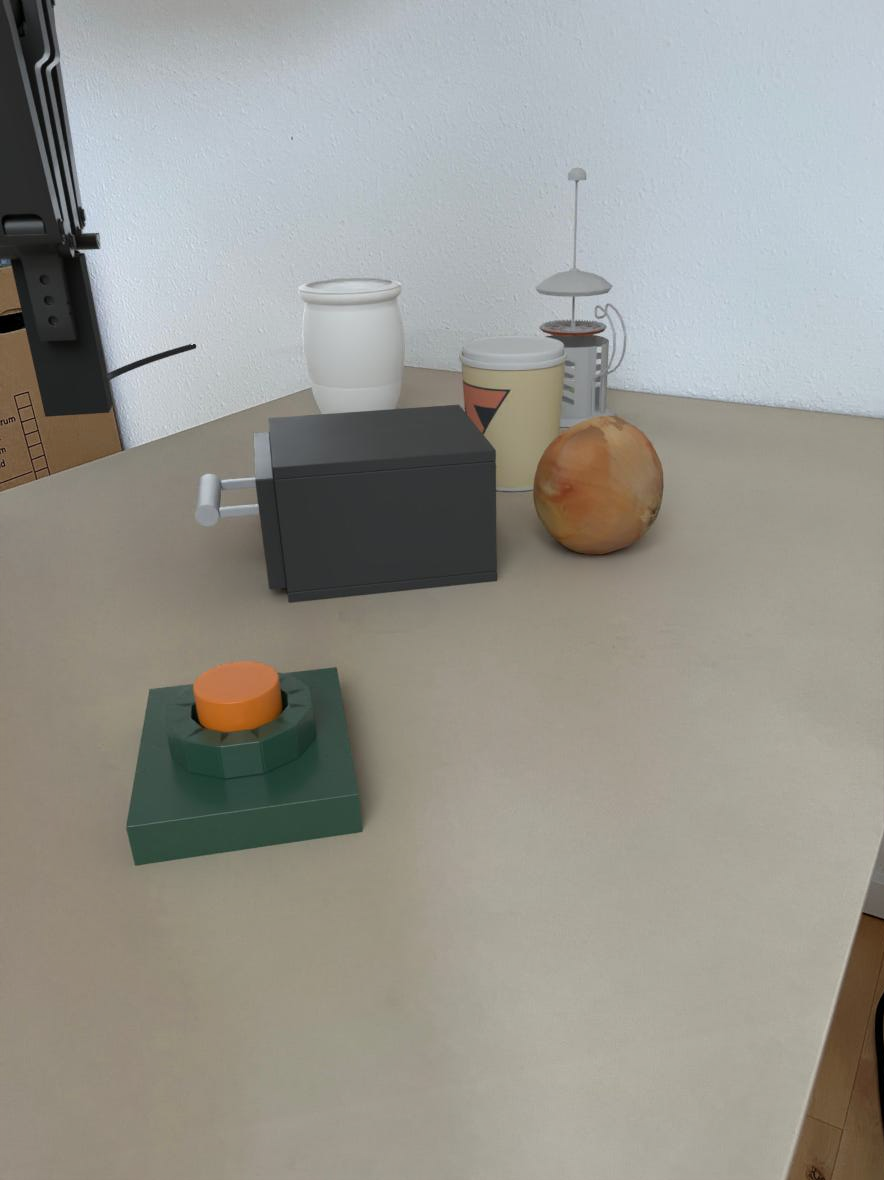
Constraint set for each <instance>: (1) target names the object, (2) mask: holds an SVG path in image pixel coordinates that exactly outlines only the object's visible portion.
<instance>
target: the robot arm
mask: <svg viewBox="0 0 884 1180" xmlns="http://www.w3.org/2000/svg"><path fill="white" fill-rule="evenodd" d="M55 6H56V0H0V261H2V260H3V261H4V260H10V265H11V269H12V274H13V278H14V284H15V288H16V292H17V297H18V302H19V306H20V311H21V315H22V319H23V324H24V328H25V332H26V337H27V342H28V345H29V350H30V354H31V359H32V364H33V369H34V372H35V377H36V382H37V387H38V391H39V396H40V399H41V404H42V409H43V414H44V417H45V418H47V417H63V416H77V415H78V416H79V415H93V414H94V415H97V414H107V413H108V414H109V413H110V412H111V410H112V408H113V405H114V402H113V398H112V393H111V388H110V387H111V386H110V382H109V381H111V380H113V379H115V378H117V377H119V376H122V375H123V374H126V373H128V372H130V371H134V370H136V369H138V368H140V367H142V366H145V365H148V364H151V363H155V362H157V361H160V360H163V359H166V358H170V357H172V356H176V355H178V354H181V353H186V352H189V351H192V350H195V349H197V344H196V343H195V344H193V345H191V344H192V343H189V344H186V345H182V346H179V347H175V348H172V349H169V350H166V351H162V352H159V353H156V354H153V355H149V356H147V357H145V358H141V359H139V360H136V361H133V362H130V363H128V364H125V365H123V366H121V367H119V368H117V369H114V370H112V371H109V372H108V371H107V366H106V359H105V355H104V350H103V344H102V339H101V335H100V333H101V332H100V328H99V324H98V323H99V322H98V317H97V312H96V307H95V301H94V297H93V292H92V287H91V286H92V285H91V281H90V275H89V271H88V266H87V261H86V259H87V258H86V254H85V252H78V253H77V252H76V253H75V251H90V250H91V251H92V250H101V249H102V247H101V245H102V243H101V237H100V236H101V235H100V232H85V233H84V230H85V228H86V226H87V224H86V221H87V214H86V210H85V209H84V208H83V203H82V197H81V191H80V185H79V184H80V183H79V177H78V171H77V164H76V158H75V151H74V145H73V138H72V131H71V125H70V118H69V112H68V107H67V99H66V93H65V85H64V80H63V72H62V66H61V50H60V45H59V40H58V39H59V38H58V34H57V27H56V17H55V16H56V15H55Z"/></svg>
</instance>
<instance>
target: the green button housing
mask: <svg viewBox="0 0 884 1180" xmlns="http://www.w3.org/2000/svg"><path fill="white" fill-rule="evenodd" d="M277 673H278V675H279V682H280V690H281V697H282V705H283V707H282V711H281V713H280V715H279V716H278V717H277V718H276V719H275V720H273V721H270V722H268V723H266V724H263V725H261V726H259V727H256V728H254V729H248V730H240V731H232V732H222V731H216V730H210V729H206V728H204V727H203V726H202V725H201V724H200V722H199V719H198V714H197V709H196V703H195V698H194V692H193V685H194V683H190V684H181V685H172V686H163V687H156V688H155V687H153V688H149V690H148V695H147V701H146V707H145V713H144V717H143V725H142V731H141V737H140V742H139V749H138V754H137V760H136V766H135V771H134V777H133V784H132V790H131V795H130V800H129V801H130V802H129V807H128V813H127V819H126V825H125V829H126V833H127V838H128V842H129V846H130V850H131V854H132V859H133V863H134V864H133V865H134V866H136V867H137V866H143V865H149V864H156V863H157V864H158V863H163V862H171V861H177V860H183V859H190V858H198V857H204V856H212V855H217V854H225V853H231V852H239V851H244V850H251V849H257V848H258V849H259V848H265V847H271V846H277V845H278V846H279V845H285V844H292V843H298V842H305V841H313V840H317V839H318V840H319V839H325V838H332V837H337V836H345V835H352V834H359V833H363V823H362V810H361V800H360V793H359V792H360V791H359V786H358V781H357V775H356V769H355V764H354V757H353V752H352V747H351V741H350V735H349V729H348V724H347V718H346V712H345V707H344V700H343V695H342V690H341V684H340V679H339V672H338V667H337V666H334V667H326V668H318V669H317V668H316V669H309V670H308V669H307V670H301V671H300V670H299V671H291V672H278V671H277Z"/></svg>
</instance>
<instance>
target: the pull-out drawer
mask: <svg viewBox="0 0 884 1180" xmlns="http://www.w3.org/2000/svg"><path fill="white" fill-rule="evenodd" d="M253 457H254V458H253V459H254V477H242V478H230V479H220V478H219V476H218V475H216V474H213V473H206V474H203V475H202V476H201V477H200V478H199V480H198V484H197V485H198V486H197V494H196V502H195V509H194V519H195V521H196V523H197V524H198V525H199V526H202V527H204V528H212V527H214V526H215V525H217V524H218V522H220V521H219V520H220V519H224V518H235V517H247V516H257V515H259V522H260V529H261V536H262V537H261V538H262V544H263V551H264V561H265V566H266V574H267V575H266V576H267V582H268V583H267V584H268V589H269V590H277V589H285V588H286V589H287V583H286V575H285V567H284V558H283V550H282V542H281V533H280V525H279V517H278V508H277V500H276V492H275V483H274V475H273V466H272V455H271V443H270V432H269V431H267V432H254V433H253ZM251 488H252V489H253V488H255V489H256V498H257V503H255V504H242V505H241V504H240V505H231V506H230V505H229V506H221V500H222V499H221V498H222V497H221V496H222V491H227V490H239V489H251Z"/></svg>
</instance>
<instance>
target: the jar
mask: <svg viewBox="0 0 884 1180" xmlns="http://www.w3.org/2000/svg"><path fill="white" fill-rule="evenodd" d="M401 285H402V283H401V282H399V281H397V280H393V279H387V278H380V277H379V278H378V277H344V278H343V277H342V278H331V279H321V280H316V281H311V282H306V283H303V284H300V285H298V286H297V287H296V288H297V295H298V297H299V299H300V300H302V301H303V304H304V306H303V311H302V320H301V321H302V322H301V342H302V343H301V344H302V351H303V358H304V363H305V367H306V371H307V374H308V377H309V381H310V388H311V391H312V394H313V395H312V396H313V398H314V401H315V402H316V405H317V407H318V409H319V411H320V414H333V413H347V412H361V411H375V410H390V409H397V407H398V404H399V401H400V398H401V393H402V387H403V374H404V366H405V353H406V352H405V351H406V349H405V348H406V346H405V332H404V325H403V320H402V319H403V318H402V315H401V310H400V308H399V307H400V306H399V305H398V301H397V300H398V299H397V298H398V297H399V296H400V295H401V293H402V286H401Z"/></svg>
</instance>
